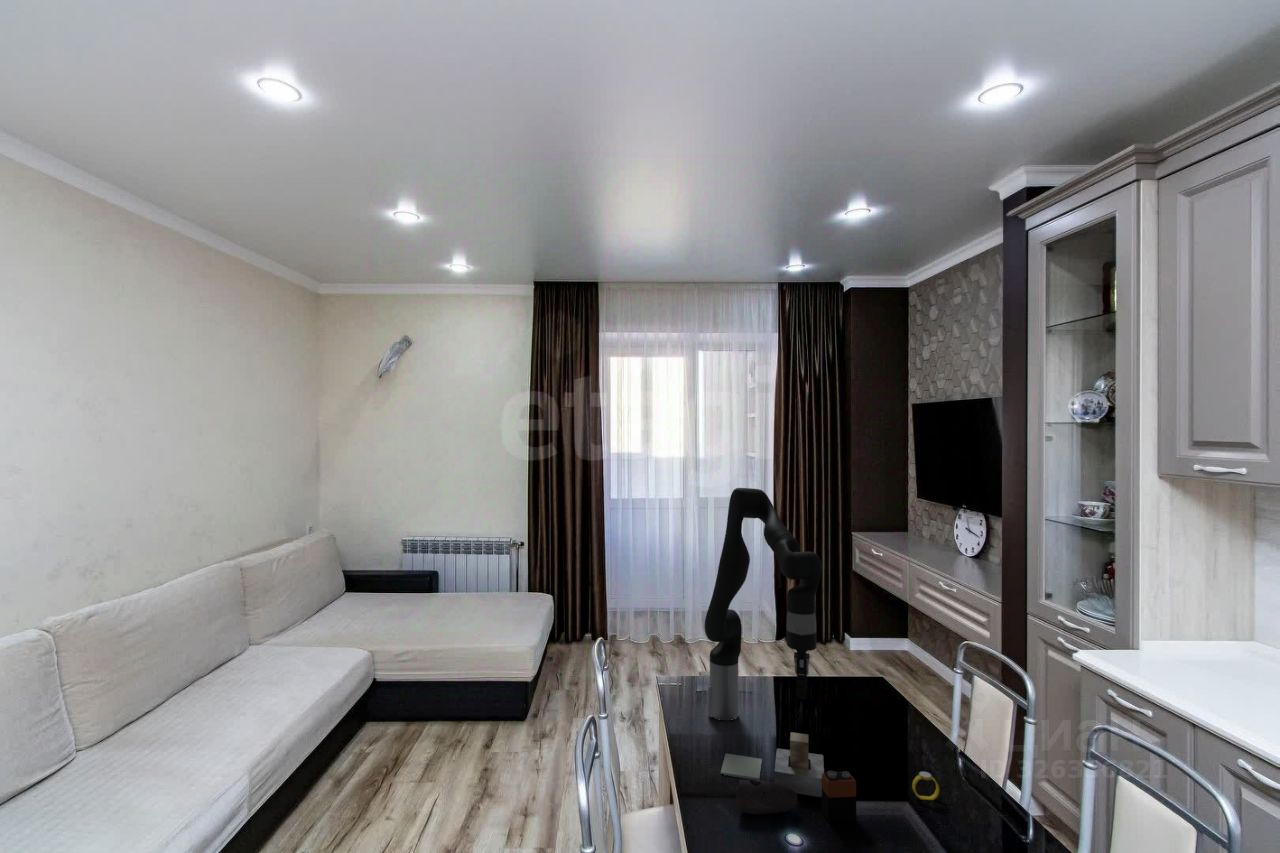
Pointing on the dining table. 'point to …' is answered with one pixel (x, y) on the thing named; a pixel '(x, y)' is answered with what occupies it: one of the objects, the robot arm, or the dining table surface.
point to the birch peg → (799, 751)
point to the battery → (838, 796)
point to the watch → (926, 777)
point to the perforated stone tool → (764, 797)
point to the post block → (799, 774)
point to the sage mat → (741, 766)
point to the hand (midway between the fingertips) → (801, 691)
